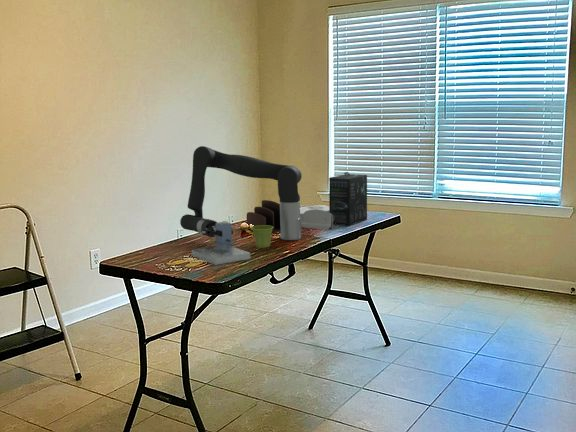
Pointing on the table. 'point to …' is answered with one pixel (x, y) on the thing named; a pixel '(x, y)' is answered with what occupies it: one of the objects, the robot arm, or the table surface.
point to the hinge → (317, 219)
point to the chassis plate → (220, 254)
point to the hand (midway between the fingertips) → (226, 233)
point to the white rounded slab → (319, 207)
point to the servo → (224, 233)
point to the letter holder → (266, 215)
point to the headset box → (348, 198)
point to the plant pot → (262, 235)
